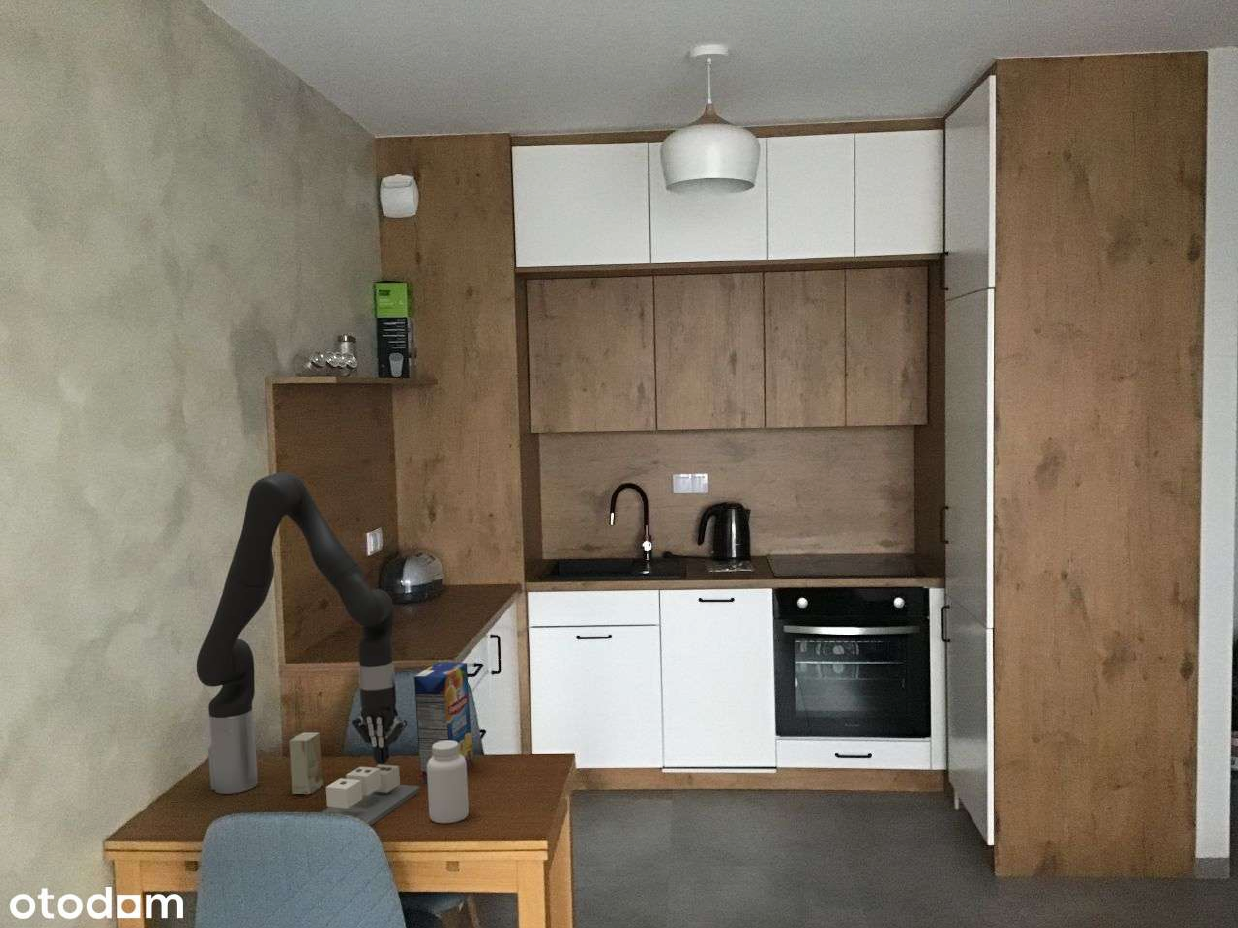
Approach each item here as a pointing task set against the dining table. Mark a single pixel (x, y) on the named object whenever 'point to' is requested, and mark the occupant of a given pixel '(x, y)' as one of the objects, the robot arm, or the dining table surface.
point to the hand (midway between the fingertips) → (382, 762)
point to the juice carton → (443, 711)
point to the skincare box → (306, 763)
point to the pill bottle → (447, 783)
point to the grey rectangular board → (378, 803)
